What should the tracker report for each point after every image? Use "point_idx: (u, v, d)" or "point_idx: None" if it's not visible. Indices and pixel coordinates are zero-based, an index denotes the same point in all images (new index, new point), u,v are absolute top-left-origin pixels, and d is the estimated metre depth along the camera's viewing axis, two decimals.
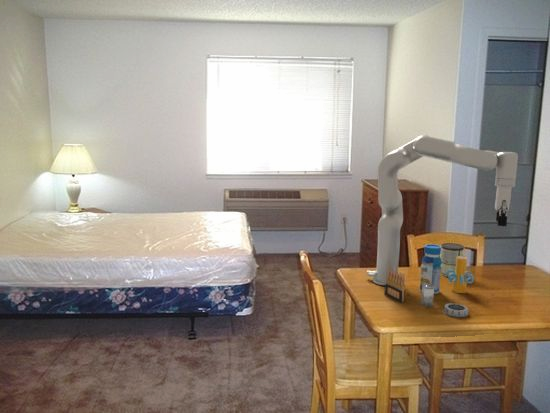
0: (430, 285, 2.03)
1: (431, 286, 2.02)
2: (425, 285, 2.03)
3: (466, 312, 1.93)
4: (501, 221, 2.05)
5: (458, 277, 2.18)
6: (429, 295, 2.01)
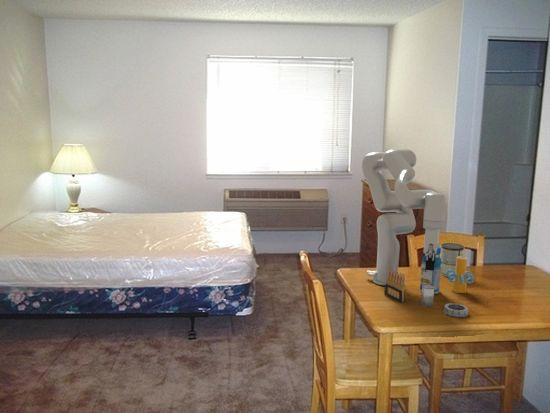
0: (430, 285, 2.03)
1: (431, 286, 2.02)
2: (425, 285, 2.03)
3: (466, 312, 1.93)
4: (428, 265, 1.96)
5: (458, 277, 2.18)
6: (429, 295, 2.01)
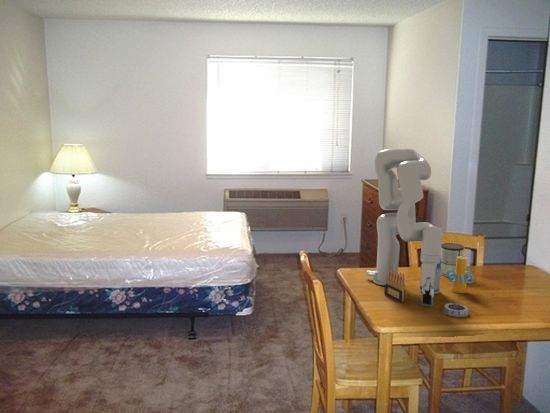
0: None
1: None
2: None
3: (466, 312, 1.93)
4: (425, 299, 2.01)
5: (458, 277, 2.18)
6: None
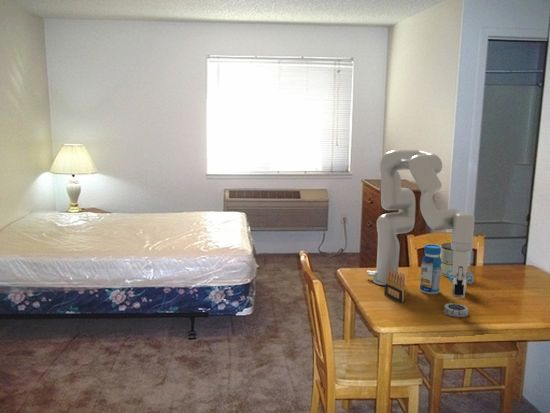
0: (462, 275, 1.93)
1: None
2: None
3: (466, 312, 1.93)
4: (457, 290, 1.91)
5: None
6: None
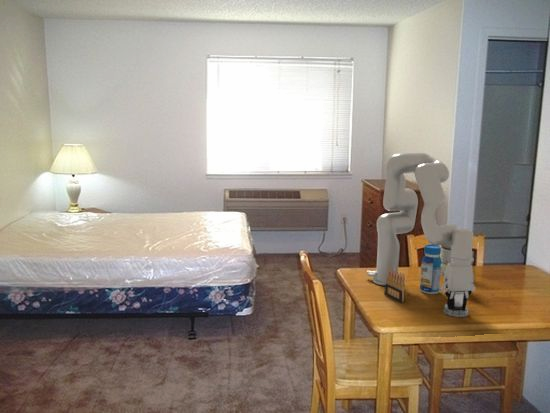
0: (459, 291, 1.94)
1: (457, 291, 1.93)
2: None
3: (466, 312, 1.93)
4: (447, 302, 1.95)
5: None
6: None
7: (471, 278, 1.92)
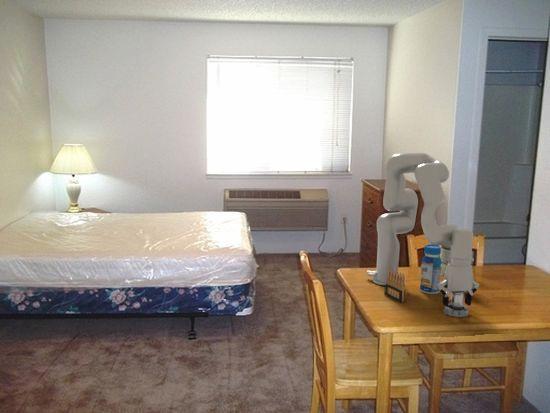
0: (459, 291, 1.94)
1: (457, 292, 1.93)
2: None
3: (466, 312, 1.93)
4: (442, 300, 1.95)
5: None
6: (453, 300, 1.94)
7: (471, 278, 1.92)
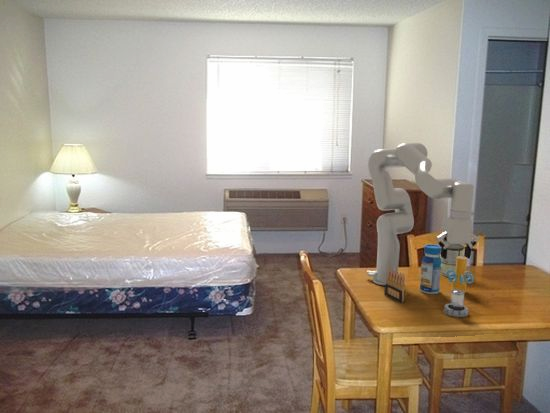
0: (459, 291, 1.94)
1: (457, 292, 1.93)
2: (455, 290, 1.95)
3: (466, 312, 1.93)
4: (441, 252, 1.96)
5: (458, 277, 2.18)
6: (453, 300, 1.94)
7: (470, 231, 1.93)
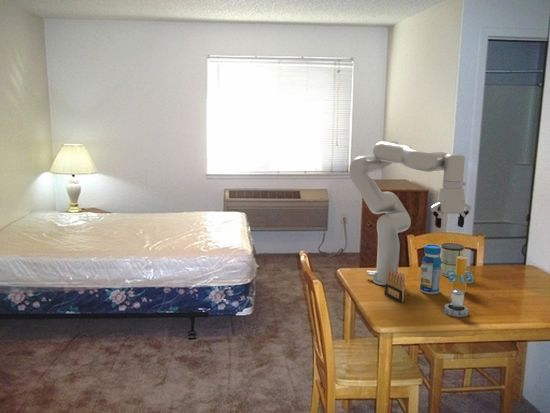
0: (459, 291, 1.94)
1: (457, 292, 1.93)
2: (455, 290, 1.95)
3: (466, 312, 1.93)
4: (435, 222, 2.05)
5: (458, 277, 2.18)
6: (453, 300, 1.94)
7: (463, 201, 2.03)
